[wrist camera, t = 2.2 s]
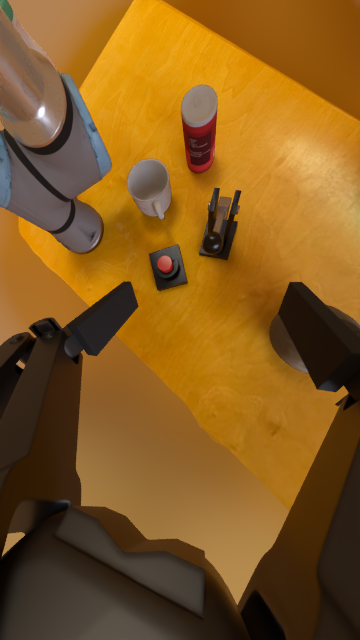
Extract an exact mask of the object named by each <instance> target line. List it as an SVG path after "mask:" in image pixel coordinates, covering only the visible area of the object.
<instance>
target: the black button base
mask: <svg viewBox="0 0 360 640" xmlns="http://www.w3.org/2000/svg"><path fill="white" fill-rule="evenodd" d="M149 256H150V260H151V265H152V269H153V273H154V278H155V282H156V286H157V290H158V291H161V290H165V289H168V288H172V287H175V286H179V285H182V284H186V283H188V282H187V278H186V274H185V269H184V265H183V261H182V257H181V252H180V248H179V245H178V244H177V245H174V246H171V247H168V248H165V249H162V250H159V251H156V252H153V253H150V254H149ZM162 256H168V257H170V258H171V260H172V262H173V269H172V270H171V271H170V272H168V273H164V272H162V271H161V270H160V269H159V268H158V265H157V263H158V260H159V258H160V257H162Z"/></svg>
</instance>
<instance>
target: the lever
mask: <svg viewBox="0 0 360 640" xmlns="http://www.w3.org/2000/svg"><path fill="white" fill-rule="evenodd" d="M231 199H232V198H229V197H220V200H219V203H218V206H217V212H216V218H217V220H216V223H215V226H214V229H213V231H212V232H209V233H208V234H206V236H205V237H204V239H203V242H202V246H203V249H204V251H205V252H206V253H207V254H211V255H213V254H216V253H218V252H219V251H220V250H221V248H222V246H223V237H222V235H221V234H220V233H219V232H220V228H221V225H222V221H223V219H226V218H227V215H228V211H229V207H230V203H231Z"/></svg>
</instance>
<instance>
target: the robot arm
mask: <svg viewBox="0 0 360 640" xmlns="http://www.w3.org/2000/svg"><path fill="white" fill-rule="evenodd" d="M0 121H1V123H2V124H3V126H4V127H5V129H4V130H2V131H0V207H2V208H5V209H7V210H9V211H11V212H13V213H14V214H16V215H18V216H20V217H22V218H24V219H25V220H27V221H29V222H31V223H33V224H35V225H36V226H38V227H40V228H42V229H44V230H46V231H48V232H49V233H51V234H52V235H53V236H54V237H55V238H56V239H57V241H58V242H61V243H62V244H63V245H64V246H65V247H66V248H67V249H69V250H70V251H72V252H74V253H77V254H86V253H89V252H91V251H93V250H94V249H95V248H96V247H97V246H98V245H99V243H100V242H101V239H102V237H103V232H104V226H103V221H102V218H101V216H100V215H99V214H98V212H97V211H95V210H94V209H93V208H92V207H91V206H89V205H88V204H86V203H83V202H81V201H79V200H77V199H76V198H75V197H76V196H78V195H79V194H81V193H82V192H84V191H85V190H87V189H88V188H90V187H91V186H93V185H94V184H95V183H97V182H98V181H100V180H102V179H103V177H104V176H105V175H106V174H107V173H108V172H110V170H111V167H112V163H111V159H110V157H109V154H108V152H107V150H106V147H105V145H104V143H103V141H102V139H101V137H100V135H99V132H98V130H97V128H96V127H95V124H94V122H93V120H92V118H91V115H90V113H89V111H88V109H87V107H86V105H85V103H84V101H83V99H82V97H81V95H80V92H79V90H78V88H77V86H76V84H75V82H74V81H73V79H72V77H71V76H70V75H69V74H61V75H60V76H59V74H58V73H57V71H56V69H55V68H54V67H53V65H52V64H51V63H50V61H49V60H48V59H47V58H46V57H45V56H44V55H43V54H41V53H40V52H38V51H36V50H34V49H31V48H28V46H27V45H26V44H25V42H24V41H23V39H22V38H21V36H20V35H19V33H18V32H17V30H16V29H15V27H14V26H13V24H12V23H11V21H10V20H9V18H8V17H7V15H6V14H5V12H4V11H3V9H2V8H1V6H0ZM137 308H138V303H137V300H136V297H135V294H134V291H133V287H132V284H131V282H123V283H121V284H120V285H119V286H117V287H116V288H115V289H113V290H112V291H111V292H109V293H108V294H107V295H105V296H104V297H103V298H102V299H100V300H99V301H98V302H96V303H95V304H94V305H92V306H91V307H90V308H88V309H87V310H86V311H84V312H83V313H82V314H81V315H79V316H78V317H77V318H75V319H74V320H73V321H71V322H70V323H69V324H67V325H66V326H65V327H64V328H63V329H62V328H61V327H60V325H59V324H58V323H57V321H56V320H55V319H54V318H45V319H42V320H39V321H37V322H35V323H33V324H32V325H31V326H30V327H29V329H30V330H31V331H32V332H33V333H34V334H35V335H36V336H37V337H36V338H34V337H33V336H32V335H31V334H30V333H28V332H24V333H20V334H16V335H14V336H12V337H11V338H9V339H8V340H7V341H5V342H4V343H3V344H2V345H1V346H0V640H360V328H359V327H357V326H356V325H355V324H353V323H351V322H349V321H348V320H346V319H340V318H339V317H338V316H337V315H336V314H335V313H334V312H333V311H331V310H330V309H329V308H328V307H327V306H326V305H325V304H324V303H323V302H322V301H321V300H320V299H319V298H318V297H317V296H316V295H315V294H314V293H313V292H312V291H311V290H310V289H309V288H308V287H307V286H306V285H304V284H303V283H302V282H290V283H289V286H288V288H287V291H286V293H285V296H284V299H283V301H282V304H281V306H280V309H279V312H278V314H279V316H280V318H281V320H282V322H283V324H284V326H285V328H286V330H287V332H288V334H289V336H290V338H291V340H292V342H293V343H294V345H295V347H296V349H297V351H298V353H299V355H300V357H301V359H302V361H303V363H304V365H305V367H306V369H307V371H308V373H309V375H310V377H311V379H312V380H313V382H314V384H315V386H316V388H317V389H319V390H325V391H332V392H337V391H338V390H339V389H340V388H341V387H342V386H343V385H344V386H345V388H346V389H347V391H348V392H349V394H347V395H346V396H345V397H344V398H342V399H341V400H340V401H339V402H337V403H336V404H335V405H337V406H339V405H340V407H339V409H338V412H337V414H336V416H335V418H334V420H333V422H332V424H331V426H330V428H329V430H328V432H327V435H326V437H325V439H324V441H323V443H322V445H321V447H320V449H319V451H318V453H317V455H316V458H315V460H314V462H313V464H312V466H311V468H310V470H309V472H308V474H307V476H306V479H305V481H304V483H303V485H302V487H301V489H300V491H299V493H298V495H297V497H296V499H295V502H294V504H293V506H292V508H291V510H290V512H289V514H288V516H287V518H286V521H285V522H284V525H283V527H282V529H281V531H280V533H279V535H278V537H277V539H276V541H275V543H274V545H273V546H272V548H271V549H270V550H269V551H268V552H267V553H265V554H264V556H263V557H262V558H261V560H260V562H259V563H258V565H257V567H256V569H255V571H254V573H253V575H252V577H251V579H250V581H249V583H248V585H247V587H246V589H245V591H244V593H243V595H242V597H241V599H240V601H239V603H238V605H237V604H236V602H235V600H234V598H233V596H232V594H231V592H230V590H229V589H228V587H227V585H226V584H225V582H224V580H223V579H222V577H221V576H220V574H219V573H218V572H217V570H216V569H215V568H214V566H213V565H212V564H211V563H210V562H209V561H208V560H207V559H206V558H205V553H204V551H203V550H201V549H199V548H196V547H194V546H192V545H190V544H188V543H185V542H183V541H180V540H179V539H159V540H148V539H146V538H145V537H144V536H143V535H142V534H141V532H140V531H139V530H138V529H137V528H136V527H135V526H134V525H133V523H132V522H130V520H129V519H128V518H127V517H126V516H124V515H122V514H120V513H118V512H115V511H113V510H111V509H108V508H106V507H93V506H81V483H80V478H79V476H78V474H77V472H76V452H77V436H78V420H79V404H80V390H81V375H82V360H83V356H82V354H81V351H82V350H83V349H84V350H85V352H86V353H87V354H88V355H93V356H97V355H98V354H99V353H100V351H101V350H102V349H103V348H104V347H105V346H106V344H107V343H108V341H110V339H111V338H112V337H113V336H114V335H115V334H116V332H117V331H118V330H119V329H120V328H121V327H122V325H123V324H124V323H125V322H126V321H127V319H128V318H129V317H130V316H131V315H132V313H133V312H134V311H135V310H136V309H137ZM19 360H20V361H21V362H23V363H24V364H25V368H24V369H22V368H20V367H19V366H18V365H16V363H17V362H18V361H19ZM16 532H23V533H25V536H24V537H23V538H22V539H21V540H19V541H18V542H17V543H16V544H15V545H14V546H13V547H12V548H11V549H10V550H9V551H7V552H6V553H5V554H4V555H3V556H2V553H3V549H4V546H5V542H6V538H7V534H8V533H16Z"/></svg>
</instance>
